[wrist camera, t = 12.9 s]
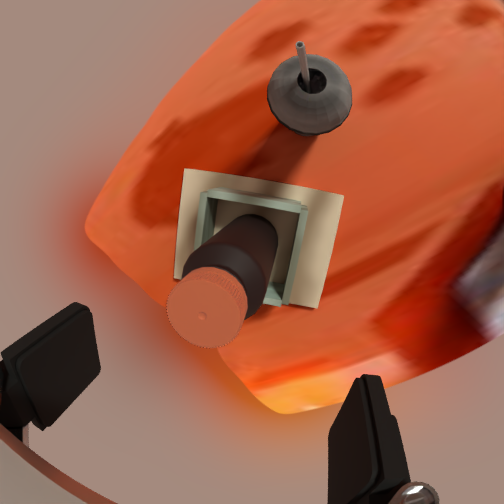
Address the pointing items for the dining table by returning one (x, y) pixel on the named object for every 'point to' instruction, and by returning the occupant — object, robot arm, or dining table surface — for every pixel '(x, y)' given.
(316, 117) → the beverage cup
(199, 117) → the dining table surface
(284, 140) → the dining table surface
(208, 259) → the vinegar
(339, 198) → the bottle caddy
